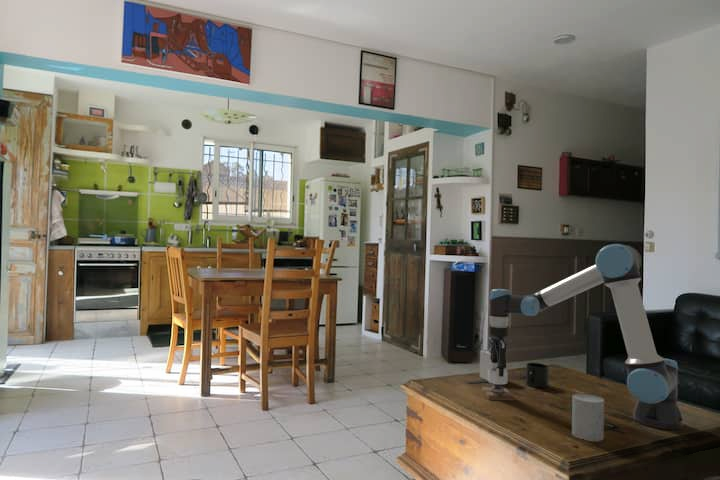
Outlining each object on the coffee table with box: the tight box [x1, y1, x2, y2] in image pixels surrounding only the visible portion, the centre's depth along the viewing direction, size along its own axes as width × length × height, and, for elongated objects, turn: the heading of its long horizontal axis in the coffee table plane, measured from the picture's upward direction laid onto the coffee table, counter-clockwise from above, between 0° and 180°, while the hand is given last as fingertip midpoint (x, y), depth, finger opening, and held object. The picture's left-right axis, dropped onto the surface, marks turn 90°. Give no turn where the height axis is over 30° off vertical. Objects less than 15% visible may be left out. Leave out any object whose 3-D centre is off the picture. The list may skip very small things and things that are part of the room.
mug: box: [525, 362, 550, 389], centre depth 211 cm, size 9×12×9 cm
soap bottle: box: [479, 336, 507, 382], centre depth 220 cm, size 9×9×19 cm
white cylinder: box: [571, 392, 605, 442], centre depth 153 cm, size 10×10×12 cm
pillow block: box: [481, 384, 515, 401], centre depth 194 cm, size 12×10×10 cm
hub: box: [487, 367, 509, 385], centre depth 195 cm, size 7×7×5 cm
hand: (497, 381), depth 194 cm, fingers closed on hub, 7 cm apart
